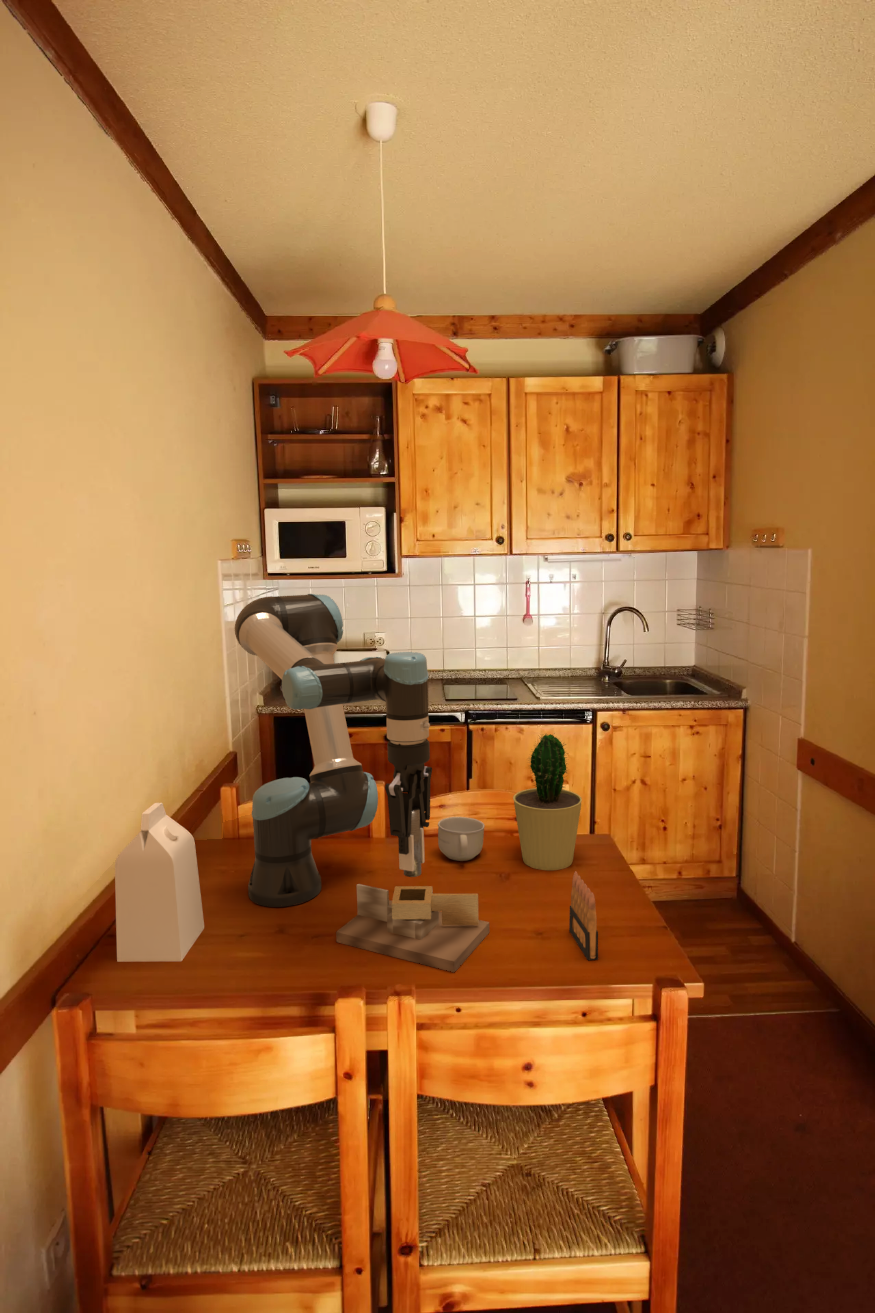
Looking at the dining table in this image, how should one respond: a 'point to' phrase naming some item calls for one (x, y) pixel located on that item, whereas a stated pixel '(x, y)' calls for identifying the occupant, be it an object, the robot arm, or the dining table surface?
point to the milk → (157, 892)
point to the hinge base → (409, 933)
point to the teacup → (460, 837)
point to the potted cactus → (547, 810)
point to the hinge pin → (415, 843)
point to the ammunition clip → (583, 918)
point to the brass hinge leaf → (434, 905)
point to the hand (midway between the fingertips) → (412, 865)
